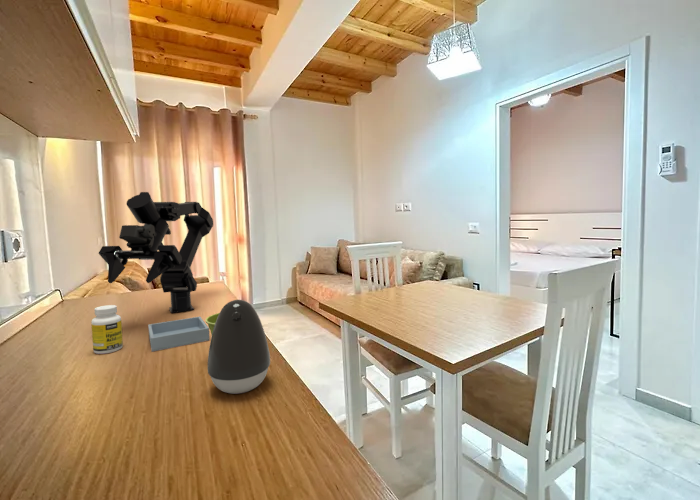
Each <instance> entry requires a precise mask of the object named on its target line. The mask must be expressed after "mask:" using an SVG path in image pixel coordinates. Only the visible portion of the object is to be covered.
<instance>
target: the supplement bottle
mask: <svg viewBox="0 0 700 500" xmlns="http://www.w3.org/2000/svg"><path fill="white" fill-rule="evenodd" d="M117 307H118V306H117V305H115V304H108V305H107V304H106V305H101V306H97V307H95V308H94V315H95V316H96V317H94V318H92V320H91V322H90V323H91V334H92V335H91V336H92V339H91V340H92V351H93V353H94V354H98V355H100V354H101V355H102V354H103V355H105V354H110V353H114V352H116V351H120V350H121V349H122V348H123V344H124V343H123V341H124V339H123V331H122V330H123V327H122V326H123V325H122V317H121V315H119V314H117V313H118V308H117Z"/></svg>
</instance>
